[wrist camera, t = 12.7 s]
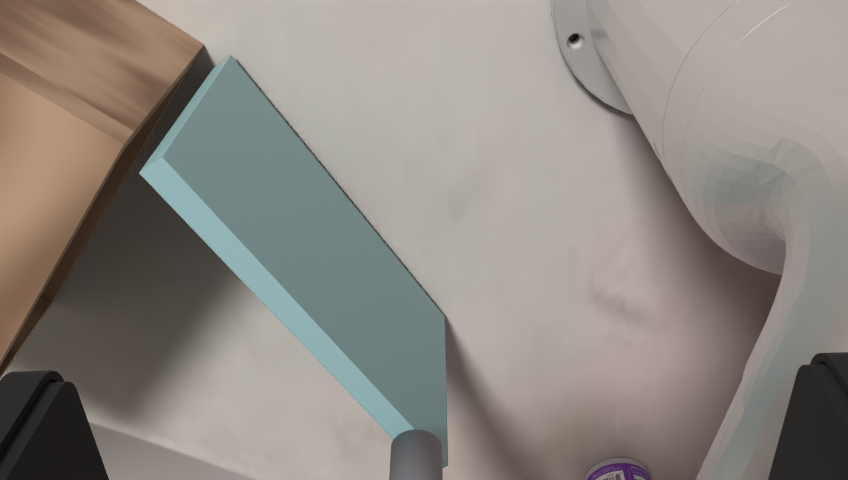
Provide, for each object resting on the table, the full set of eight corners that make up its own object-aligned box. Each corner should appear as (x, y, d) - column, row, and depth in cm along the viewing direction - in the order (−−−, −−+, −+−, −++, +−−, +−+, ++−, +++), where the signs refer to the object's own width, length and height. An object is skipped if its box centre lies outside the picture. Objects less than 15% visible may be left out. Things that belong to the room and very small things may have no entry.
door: (240, 48, 39) (107, 249, 23) (453, 312, 48) (463, 593, 32) (204, 74, 40) (51, 285, 24) (420, 329, 48) (414, 612, 32)
